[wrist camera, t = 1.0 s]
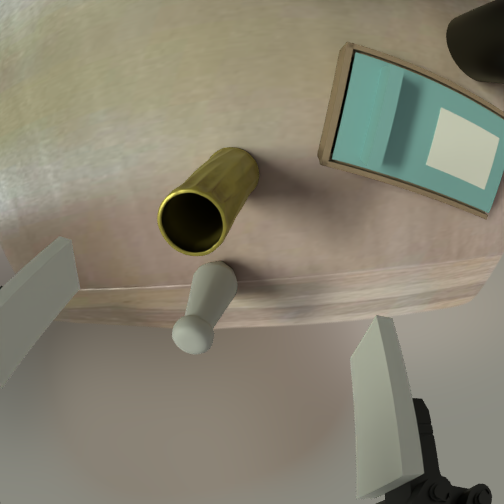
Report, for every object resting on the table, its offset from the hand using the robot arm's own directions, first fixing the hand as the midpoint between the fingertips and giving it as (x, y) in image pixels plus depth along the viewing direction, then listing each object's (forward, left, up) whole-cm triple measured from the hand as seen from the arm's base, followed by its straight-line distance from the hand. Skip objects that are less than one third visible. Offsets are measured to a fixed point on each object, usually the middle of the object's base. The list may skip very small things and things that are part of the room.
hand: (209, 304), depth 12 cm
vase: (+2, -4, -24) cm, 24 cm away
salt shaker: (+15, -4, -24) cm, 28 cm away
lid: (-9, +15, -19) cm, 26 cm away
